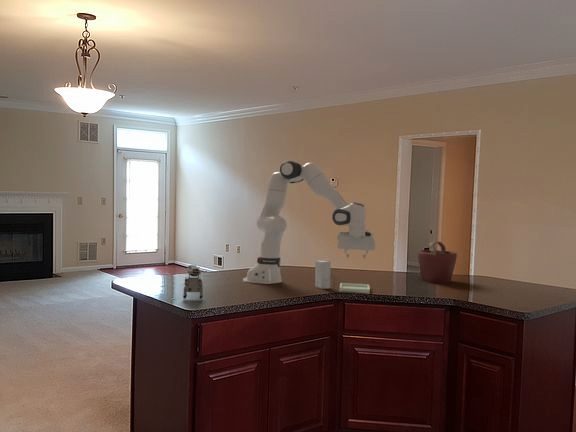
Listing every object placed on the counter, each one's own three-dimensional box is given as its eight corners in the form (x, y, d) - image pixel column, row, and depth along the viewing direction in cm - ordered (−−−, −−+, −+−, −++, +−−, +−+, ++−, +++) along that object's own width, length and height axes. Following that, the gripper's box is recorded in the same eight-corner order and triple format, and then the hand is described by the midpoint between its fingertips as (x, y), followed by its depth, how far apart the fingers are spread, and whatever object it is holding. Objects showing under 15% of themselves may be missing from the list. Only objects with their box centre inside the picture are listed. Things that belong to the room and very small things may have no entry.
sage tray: (339, 291, 282) (339, 287, 281) (340, 286, 297) (340, 282, 297) (369, 293, 280) (369, 289, 279) (368, 288, 295) (369, 284, 295)
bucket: (439, 286, 311) (441, 243, 310) (407, 280, 328) (409, 240, 327) (461, 282, 327) (463, 242, 326) (430, 277, 344) (432, 239, 343)
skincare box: (330, 288, 291) (331, 261, 290) (320, 289, 289) (321, 261, 288) (323, 286, 299) (324, 259, 298) (314, 286, 296) (315, 259, 296)
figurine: (203, 295, 261) (204, 264, 260) (201, 299, 249) (202, 268, 249) (185, 294, 260) (185, 264, 259) (182, 299, 249) (183, 267, 248)
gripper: (337, 232, 285) (336, 257, 286) (375, 233, 283) (374, 259, 284) (337, 231, 292) (336, 256, 292) (375, 232, 289) (374, 258, 290)
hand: (355, 257), depth 288 cm, fingers open, 8 cm apart
